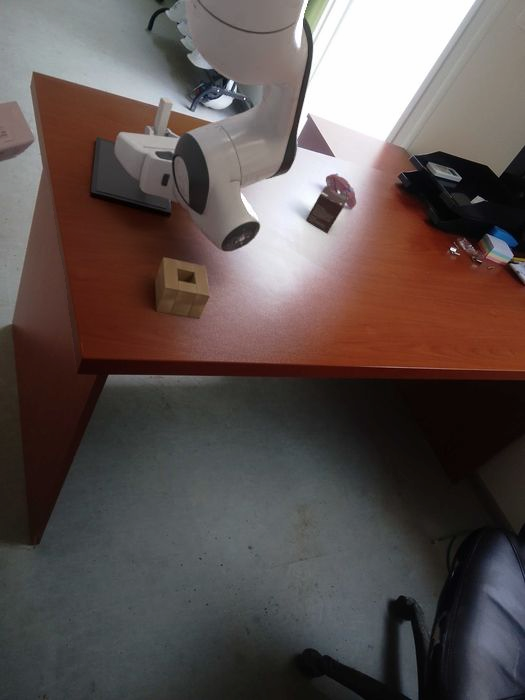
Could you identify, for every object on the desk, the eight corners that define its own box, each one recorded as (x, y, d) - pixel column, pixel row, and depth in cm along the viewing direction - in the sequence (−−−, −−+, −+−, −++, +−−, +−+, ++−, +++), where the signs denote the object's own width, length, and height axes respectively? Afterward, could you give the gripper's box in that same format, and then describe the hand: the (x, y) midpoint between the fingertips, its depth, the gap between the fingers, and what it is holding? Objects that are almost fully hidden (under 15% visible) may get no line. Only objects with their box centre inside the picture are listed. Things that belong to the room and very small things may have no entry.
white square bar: (144, 180, 86) (164, 102, 77) (140, 175, 87) (160, 96, 77) (152, 180, 88) (173, 103, 78) (148, 175, 88) (168, 98, 78)
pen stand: (156, 311, 67) (165, 287, 64) (155, 281, 72) (163, 256, 68) (199, 318, 70) (210, 295, 67) (195, 289, 74) (205, 266, 71)
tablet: (169, 217, 85) (171, 212, 84) (90, 196, 79) (91, 191, 78) (164, 162, 97) (166, 157, 96) (95, 141, 91) (96, 136, 90)
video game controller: (320, 192, 124) (324, 171, 118) (332, 185, 126) (337, 164, 120) (343, 215, 121) (349, 195, 115) (356, 207, 122) (362, 187, 116)
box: (332, 224, 111) (348, 198, 106) (327, 233, 107) (343, 207, 102) (311, 211, 111) (326, 185, 106) (305, 220, 106) (320, 193, 102)
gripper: (247, 163, 81) (208, 120, 86) (142, 155, 68) (104, 105, 73) (234, 194, 85) (198, 151, 90) (133, 192, 72) (98, 142, 77)
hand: (155, 130), depth 82 cm, fingers closed on white square bar, 1 cm apart
